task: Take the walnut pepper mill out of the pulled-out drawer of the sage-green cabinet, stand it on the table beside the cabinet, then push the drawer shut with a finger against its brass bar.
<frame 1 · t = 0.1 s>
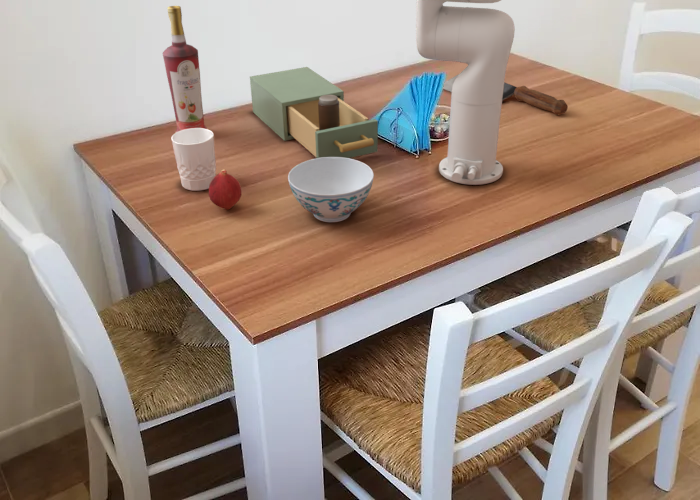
pepper mill: (329, 138, 152), point 2 cm above the table, touching drawer
white cup: (199, 184, 140), on the table
meat cleaver: (499, 100, 176), on the table
cabinet: (297, 120, 167), on the table
chinaware: (332, 214, 129), on the table
drawer: (333, 130, 150), point 4 cm above the table, slide at 15.5 cm, touching pepper mill
onion: (227, 210, 130), on the table
liquor: (192, 136, 160), on the table
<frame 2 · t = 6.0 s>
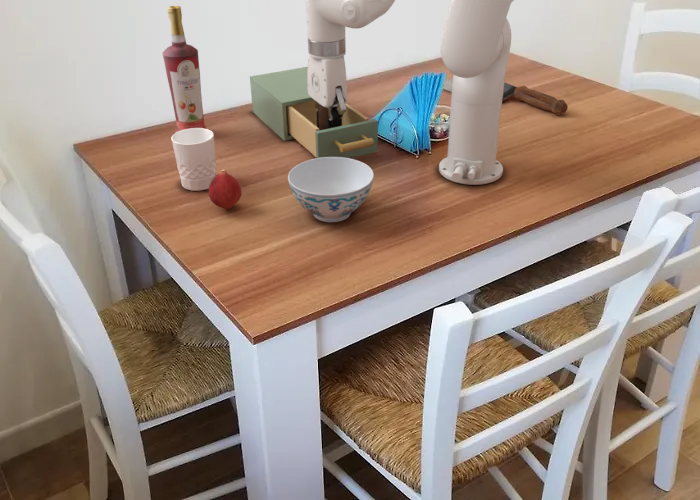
hand: (329, 131, 151), 4 cm above the table, tool pointing down, fingers closed on pepper mill, 4 cm apart
pepper mill: (329, 137, 152), point 2 cm above the table, touching drawer, gripper
everything else where it was.
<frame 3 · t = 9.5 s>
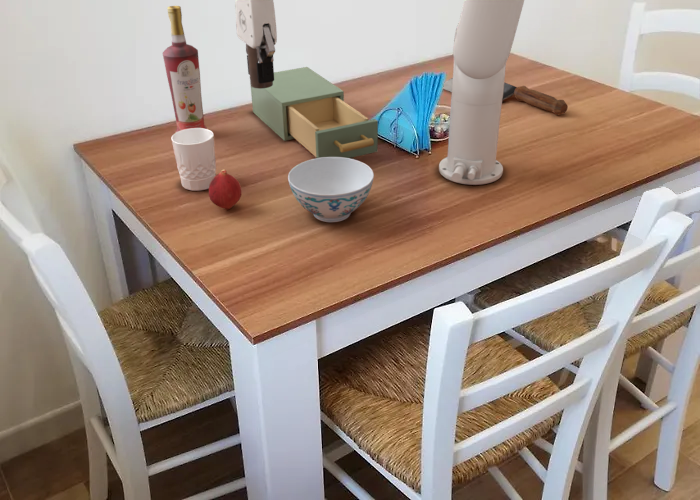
hand: (261, 77, 139), 18 cm above the table, tool pointing down, fingers closed on pepper mill, 4 cm apart
pepper mill: (261, 84, 140), point 16 cm above the table, touching gripper
drawer: (333, 130, 150), point 4 cm above the table, slide at 15.5 cm
everything else where it was.
when the fingers open (2 cm above the table, at t = 13.4 s): pepper mill stays where it is, on the table.
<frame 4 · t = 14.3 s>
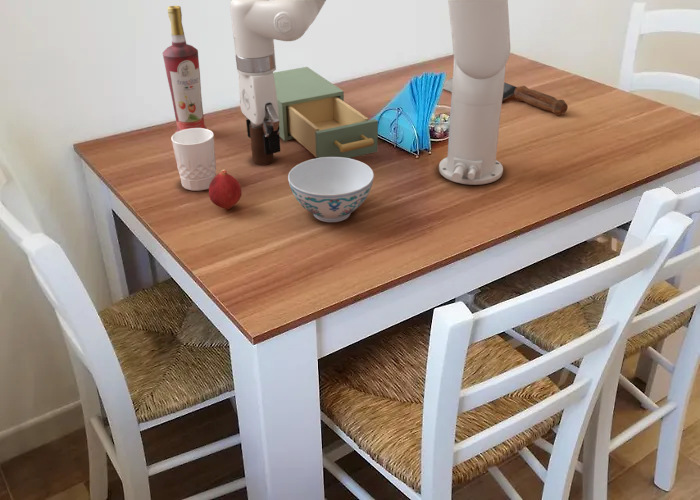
hand: (263, 144, 146), 4 cm above the table, tool pointing down, fingers open, 9 cm apart
pepper mill: (263, 160, 148), on the table
everything else where it was.
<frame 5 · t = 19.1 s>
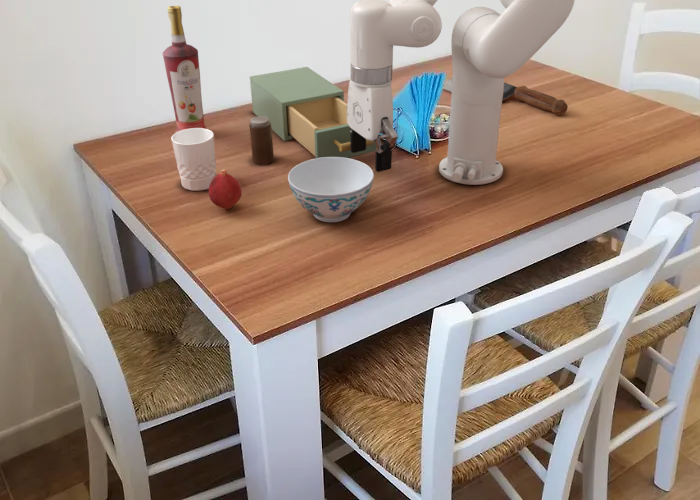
hand: (370, 160, 136), 5 cm above the table, tool pointing down, fingers open, 9 cm apart
drawer: (332, 130, 150), point 4 cm above the table, slide at 15.1 cm, touching gripper
everything else where it was.
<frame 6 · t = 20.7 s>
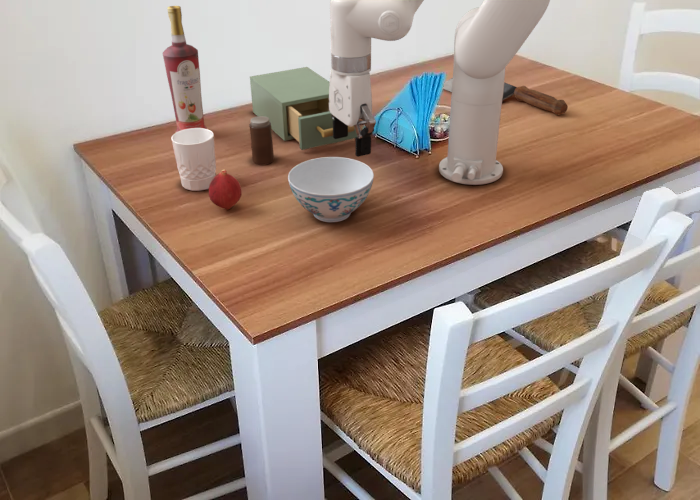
hand: (351, 146, 143), 4 cm above the table, tool pointing down, fingers open, 9 cm apart
drawer: (316, 117, 156), point 4 cm above the table, slide at 7.1 cm, touching gripper
everything else where it was.
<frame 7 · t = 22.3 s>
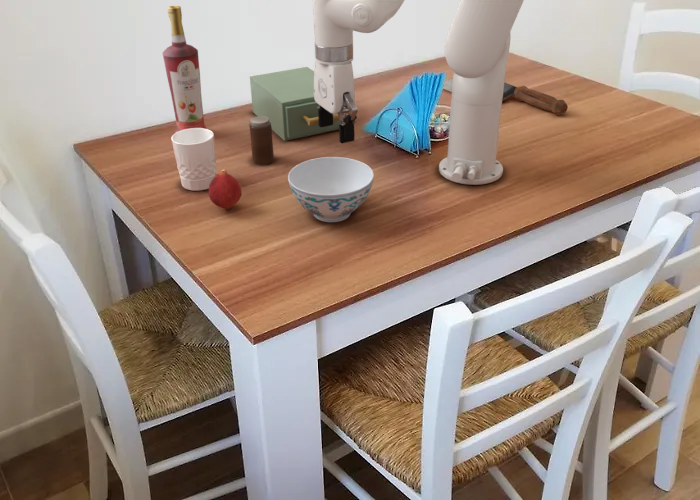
hand: (336, 133, 148), 4 cm above the table, tool pointing down, fingers open, 9 cm apart
drawer: (303, 107, 161), point 4 cm above the table, slide at 0.0 cm, touching cabinet, gripper
everything else where it was.
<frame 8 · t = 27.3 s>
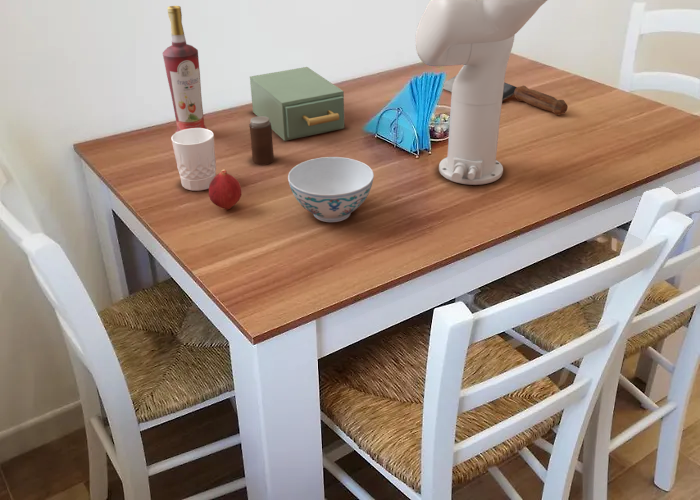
drawer: (303, 107, 161), point 4 cm above the table, slide at 0.0 cm
everything else where it was.
at the end: pepper mill inside the target area (0.1 cm from its centre), on the table; pepper mill tilted 0°; drawer slide at 0.0 cm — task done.
